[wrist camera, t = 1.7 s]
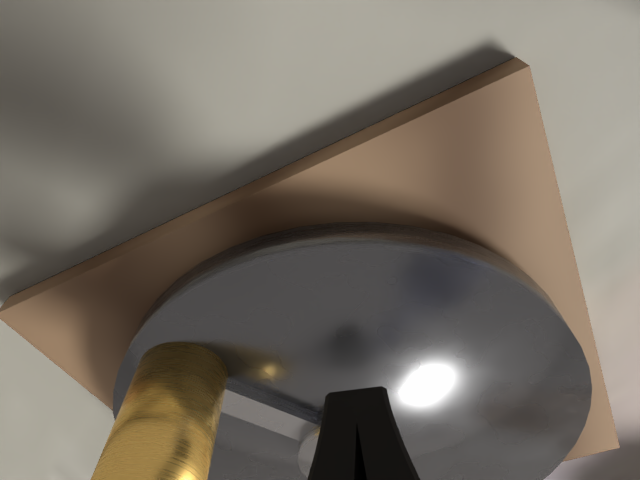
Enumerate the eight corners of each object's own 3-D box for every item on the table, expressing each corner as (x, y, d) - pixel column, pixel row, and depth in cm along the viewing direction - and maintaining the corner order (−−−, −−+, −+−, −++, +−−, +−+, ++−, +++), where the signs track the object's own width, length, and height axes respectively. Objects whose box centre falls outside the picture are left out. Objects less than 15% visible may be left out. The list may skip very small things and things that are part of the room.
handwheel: (505, 119, 13) (638, 254, 7) (599, 449, 22) (689, 616, 16) (29, 329, 17) (-99, 507, 12) (270, 530, 26) (258, 682, 21)
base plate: (516, 57, 13) (531, 67, 12) (609, 428, 23) (621, 450, 22) (9, 296, 18) (-7, 316, 17) (266, 516, 28) (265, 536, 27)
